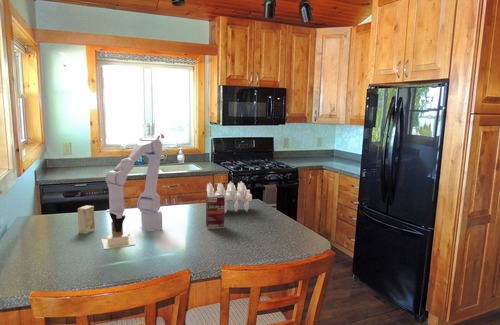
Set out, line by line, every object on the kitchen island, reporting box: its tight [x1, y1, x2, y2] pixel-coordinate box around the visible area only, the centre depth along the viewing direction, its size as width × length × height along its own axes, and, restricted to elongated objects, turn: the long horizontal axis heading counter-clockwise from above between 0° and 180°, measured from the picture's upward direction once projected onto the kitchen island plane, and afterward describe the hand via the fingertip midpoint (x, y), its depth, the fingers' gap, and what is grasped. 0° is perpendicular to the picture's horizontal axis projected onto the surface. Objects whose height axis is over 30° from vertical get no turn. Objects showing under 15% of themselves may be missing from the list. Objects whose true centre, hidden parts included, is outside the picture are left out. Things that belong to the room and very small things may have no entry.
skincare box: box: [77, 204, 96, 235], centre depth 165 cm, size 6×4×12 cm
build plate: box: [100, 233, 136, 251], centre depth 153 cm, size 12×14×1 cm
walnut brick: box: [110, 221, 124, 236], centre depth 151 cm, size 4×4×5 cm
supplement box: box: [205, 195, 225, 230], centre depth 175 cm, size 9×5×16 cm, turn 107°
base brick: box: [106, 232, 129, 246], centre depth 152 cm, size 8×4×3 cm, turn 118°
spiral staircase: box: [206, 180, 253, 214], centre depth 202 cm, size 18×18×25 cm
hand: (117, 230), depth 151 cm, fingers closed on walnut brick, 4 cm apart
